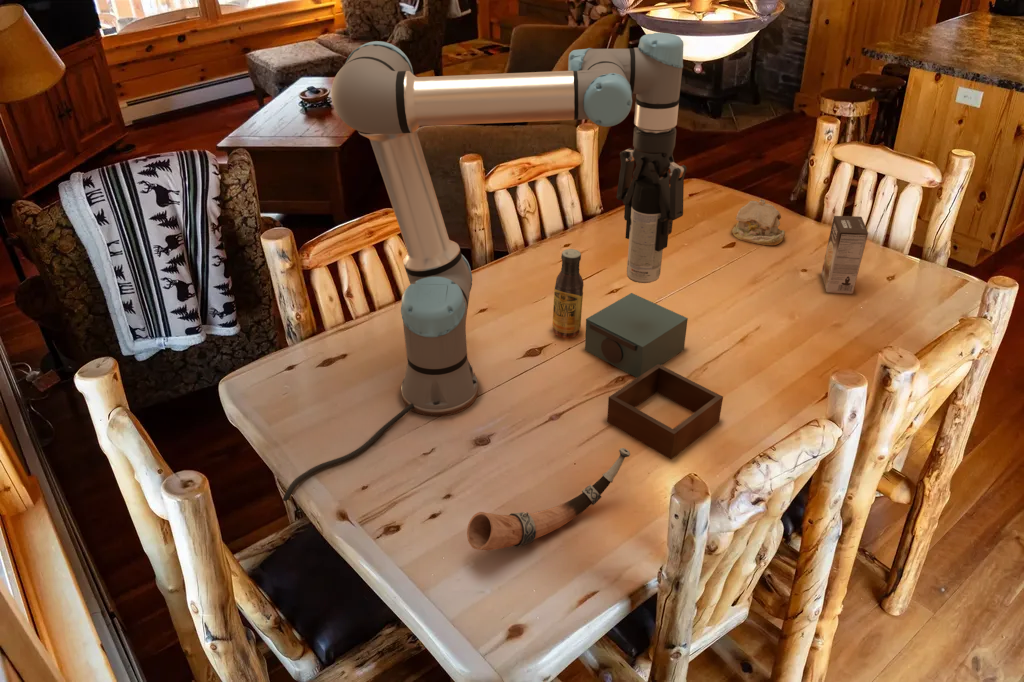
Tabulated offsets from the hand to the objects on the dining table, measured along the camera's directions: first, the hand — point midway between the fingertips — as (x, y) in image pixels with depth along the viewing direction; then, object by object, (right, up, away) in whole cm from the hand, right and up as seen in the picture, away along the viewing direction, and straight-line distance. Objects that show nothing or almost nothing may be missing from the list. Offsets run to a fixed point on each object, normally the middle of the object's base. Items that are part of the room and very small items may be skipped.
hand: (646, 242), depth 156 cm
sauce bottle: (-14, -17, +23) cm, 32 cm away
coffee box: (+52, -6, +38) cm, 65 cm away
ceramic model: (+40, +9, +61) cm, 73 cm away
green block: (0, -21, +16) cm, 27 cm away
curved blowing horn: (-19, -50, -25) cm, 59 cm away
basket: (+3, -34, -4) cm, 35 cm away
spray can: (0, -6, +4) cm, 8 cm away
